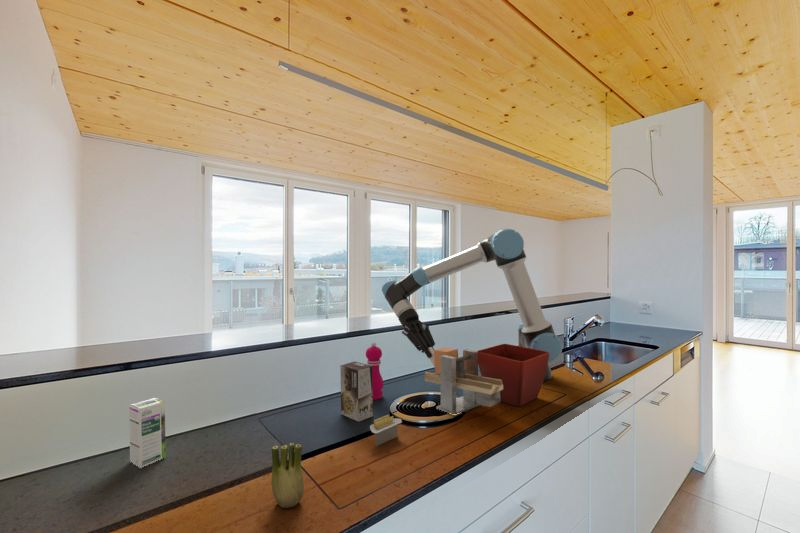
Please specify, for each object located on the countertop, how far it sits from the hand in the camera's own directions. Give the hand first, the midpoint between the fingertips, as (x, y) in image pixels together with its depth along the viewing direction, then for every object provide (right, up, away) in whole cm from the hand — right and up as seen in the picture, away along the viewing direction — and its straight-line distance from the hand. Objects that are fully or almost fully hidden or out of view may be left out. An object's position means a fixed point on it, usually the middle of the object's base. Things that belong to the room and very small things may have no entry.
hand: (437, 364), depth 130 cm
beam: (+8, -9, -8) cm, 14 cm away
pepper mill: (-23, -13, +2) cm, 27 cm away
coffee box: (-28, -13, -14) cm, 33 cm away
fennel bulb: (-36, -13, -57) cm, 69 cm away
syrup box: (-76, -13, -40) cm, 87 cm away
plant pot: (+27, -12, 0) cm, 30 cm away
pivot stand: (+7, -12, -7) cm, 16 cm away
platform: (-18, -13, -31) cm, 38 cm away
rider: (+3, -4, -3) cm, 6 cm away
